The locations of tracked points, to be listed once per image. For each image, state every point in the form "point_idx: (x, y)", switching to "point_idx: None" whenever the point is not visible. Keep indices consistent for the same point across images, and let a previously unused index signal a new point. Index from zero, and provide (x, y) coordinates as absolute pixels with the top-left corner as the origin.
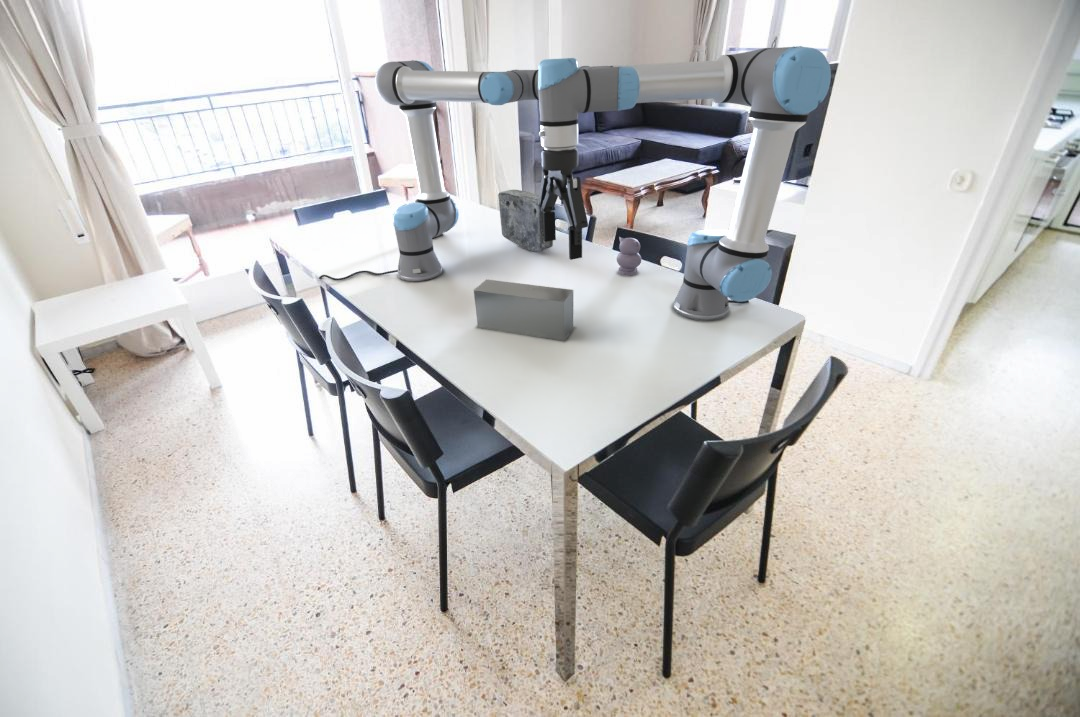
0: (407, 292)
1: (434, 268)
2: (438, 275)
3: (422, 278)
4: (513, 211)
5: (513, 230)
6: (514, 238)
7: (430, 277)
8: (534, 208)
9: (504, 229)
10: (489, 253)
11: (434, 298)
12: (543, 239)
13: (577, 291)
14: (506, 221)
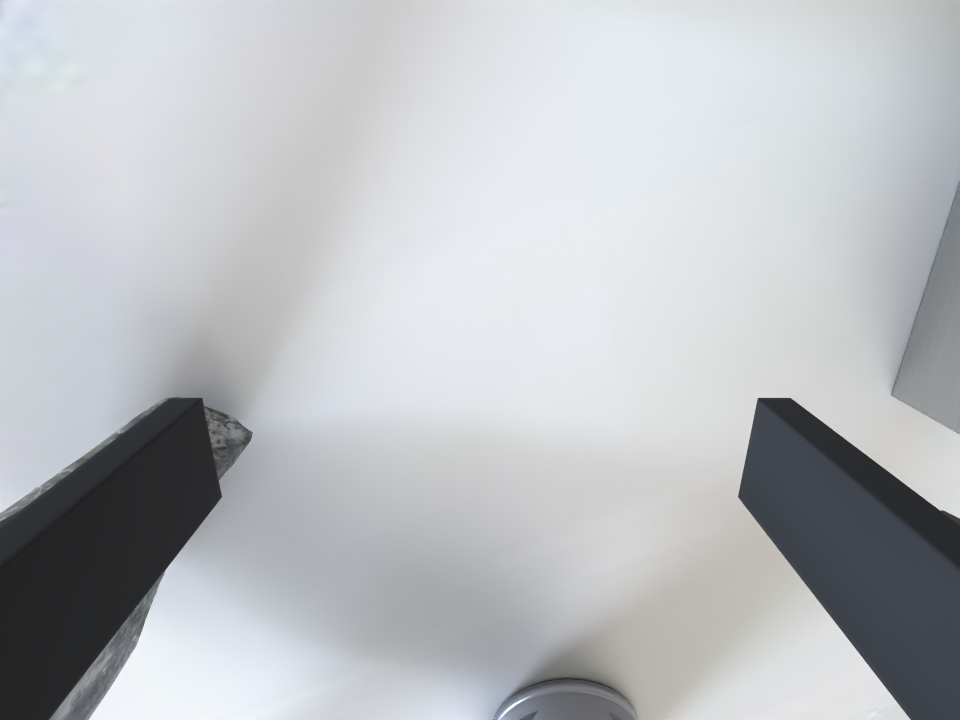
0: (720, 698)
1: (588, 712)
2: (573, 679)
3: (629, 708)
4: (57, 710)
5: (127, 622)
6: (151, 589)
7: (609, 692)
8: None
9: (120, 661)
10: (300, 617)
11: (757, 613)
12: (215, 448)
13: (612, 116)
14: (93, 688)
